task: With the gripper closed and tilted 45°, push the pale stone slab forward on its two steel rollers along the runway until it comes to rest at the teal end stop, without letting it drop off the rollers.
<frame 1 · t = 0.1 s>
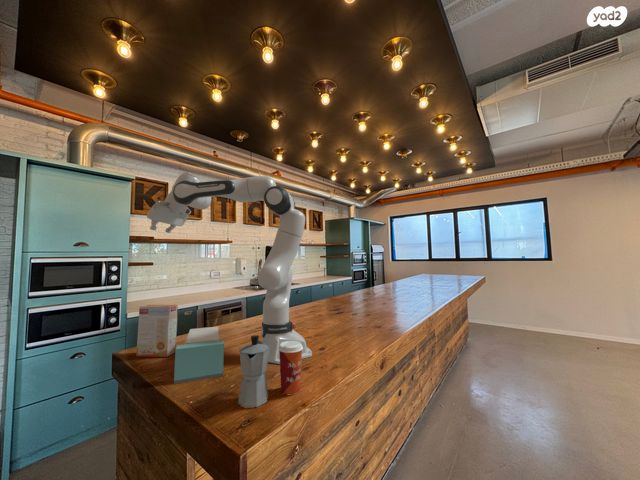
hand: (160, 231, 116), 54 cm above the countertop, tool tilted 30°, fingers open, 8 cm apart
coffee maker: (254, 398, 73), on the countertop
paper cup: (290, 391, 77), on the countertop
front roller: (202, 358, 101), point 1 cm above the countertop, touching runway, stone slab
cracker box: (156, 355, 107), on the countertop
rear roller: (203, 348, 112), point 1 cm above the countertop, touching runway, stone slab
stone slab: (203, 343, 107), point 5 cm above the countertop, touching front roller, rear roller
runway: (202, 359, 102), on the countertop
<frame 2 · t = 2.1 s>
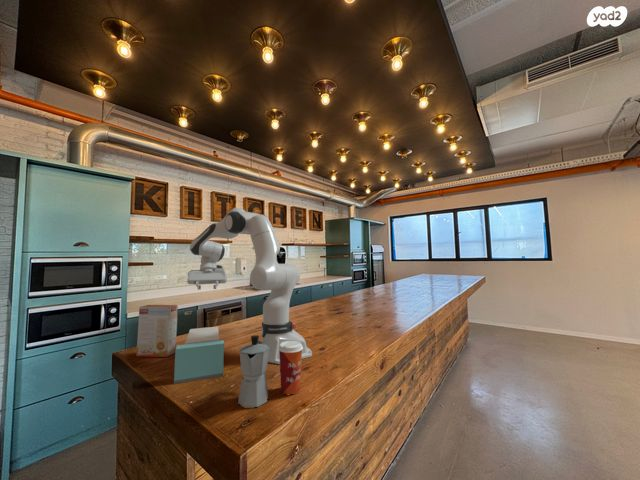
hand: (207, 288, 135), 25 cm above the countertop, tool tilted 45°, fingers open, 6 cm apart
nothing on the countertop moved.
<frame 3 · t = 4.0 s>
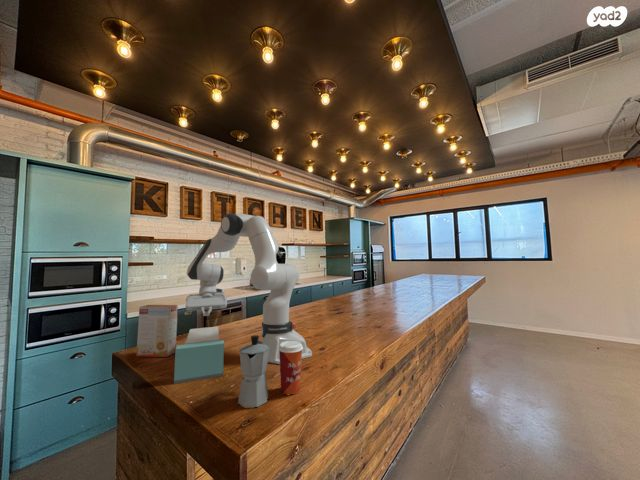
hand: (206, 315, 129), 12 cm above the countertop, tool tilted 45°, fingers closed
nothing on the countertop moved.
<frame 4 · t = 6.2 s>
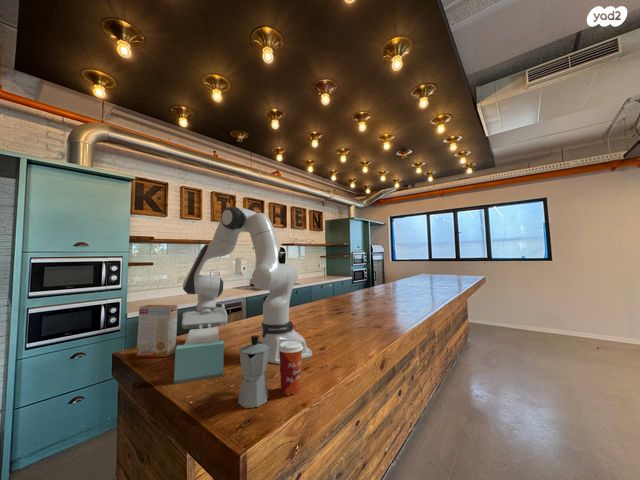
hand: (204, 334, 116), 6 cm above the countertop, tool tilted 45°, fingers closed
front roller: (202, 357, 101), point 1 cm above the countertop, tilted 19°, touching runway, stone slab
rear roller: (203, 348, 112), point 1 cm above the countertop, tilted 19°, touching runway, stone slab
stone slab: (203, 344, 105), point 5 cm above the countertop, touching front roller, rear roller
everything else where it was.
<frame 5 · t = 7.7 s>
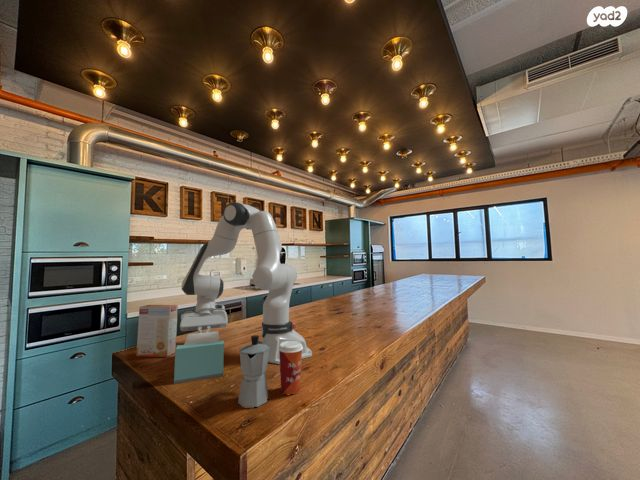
hand: (203, 336, 112), 6 cm above the countertop, tool tilted 45°, fingers closed
front roller: (202, 352, 98), point 4 cm above the countertop, tilted 126°, touching runway, stone slab
rear roller: (203, 343, 109), point 4 cm above the countertop, tilted 126°, touching runway, stone slab
stone slab: (202, 350, 99), point 5 cm above the countertop, touching front roller, rear roller
everything else where it was.
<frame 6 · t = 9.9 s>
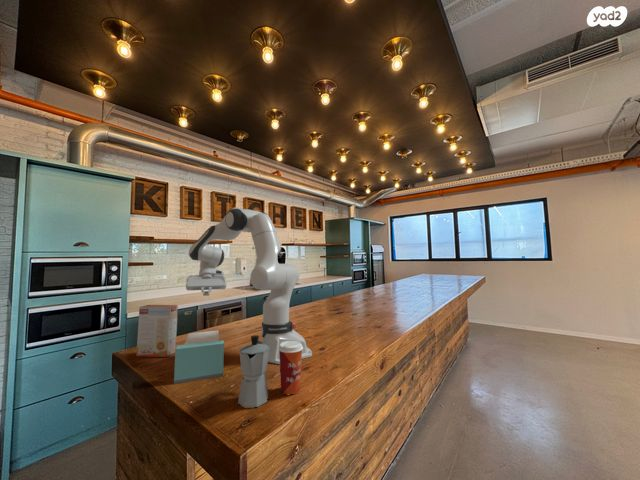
hand: (206, 295, 132), 22 cm above the countertop, tool tilted 45°, fingers closed
front roller: (202, 352, 99), point 4 cm above the countertop, tilted 110°, touching runway, stone slab
rear roller: (203, 343, 110), point 4 cm above the countertop, tilted 110°, touching runway, stone slab
stone slab: (202, 349, 100), point 5 cm above the countertop, touching front roller, rear roller
everything else where it was.
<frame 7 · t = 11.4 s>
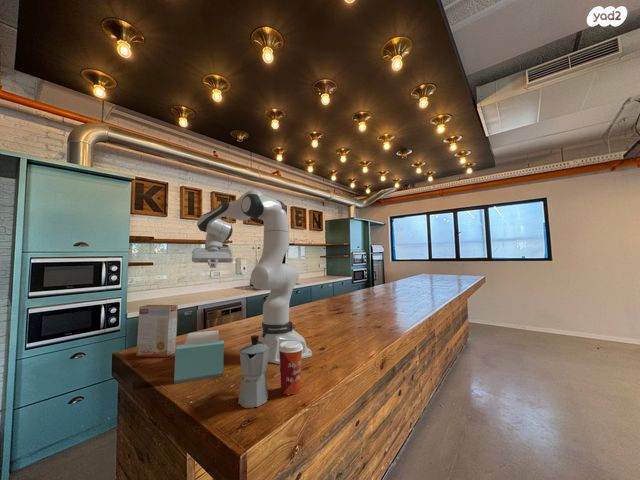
hand: (212, 266, 128), 37 cm above the countertop, tool tilted 45°, fingers closed
nothing on the countertop moved.
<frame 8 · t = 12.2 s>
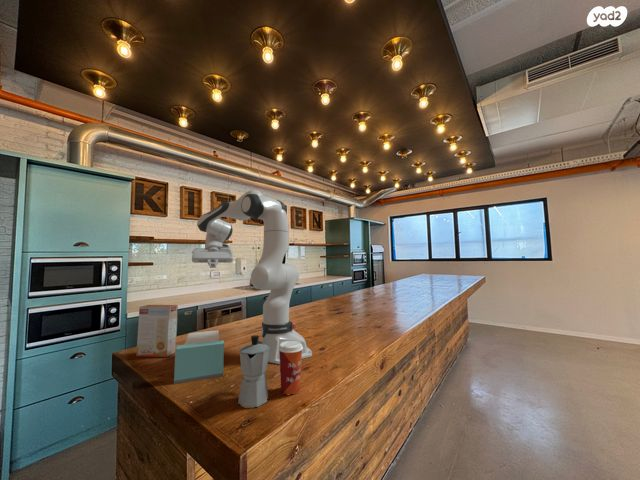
hand: (212, 266, 128), 37 cm above the countertop, tool tilted 45°, fingers closed
nothing on the countertop moved.
at the end: stone slab 0.3 cm from the target spot, point 5.0 cm above the countertop; stone slab tilted 0°; stone slab moved 7.4 cm from its start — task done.
